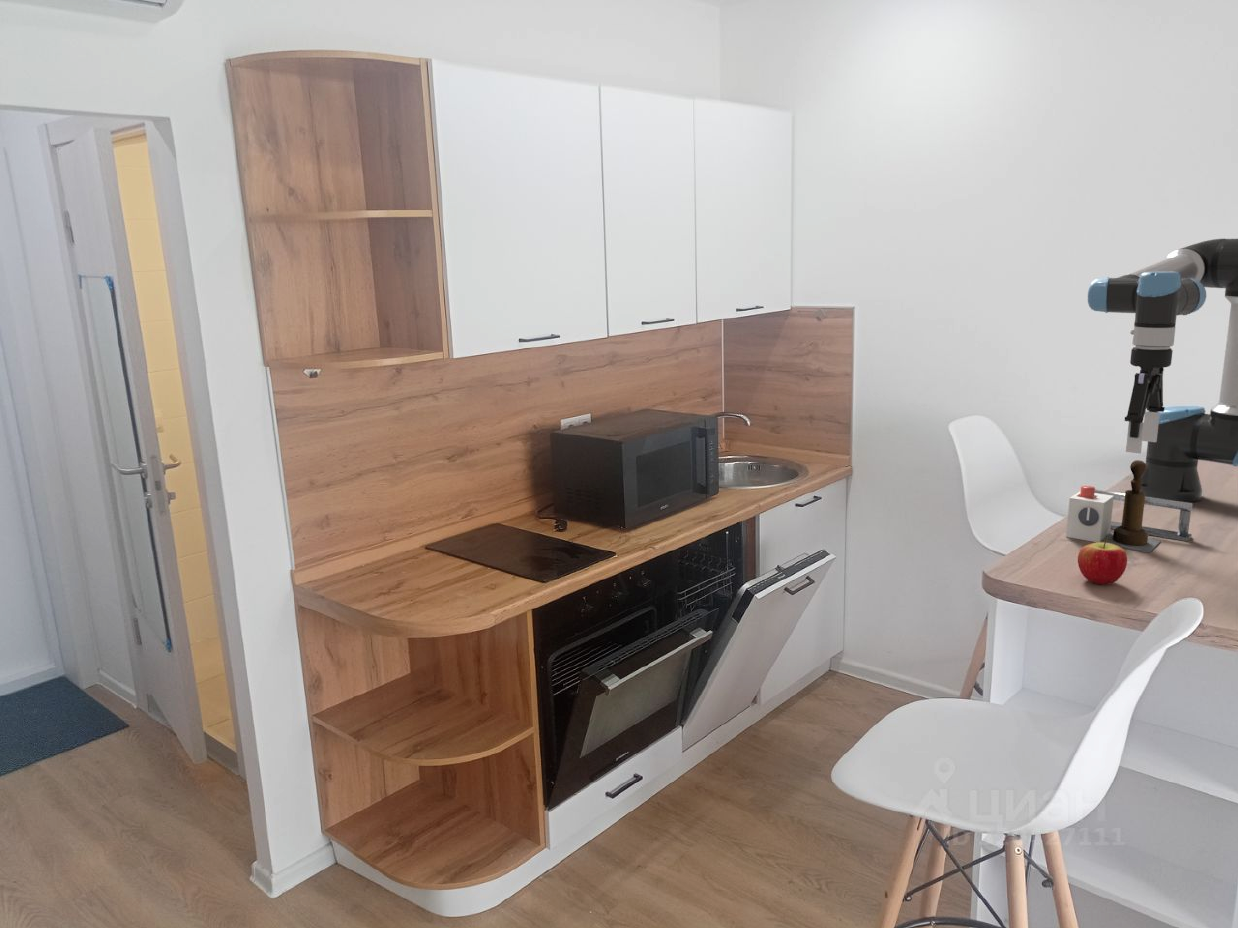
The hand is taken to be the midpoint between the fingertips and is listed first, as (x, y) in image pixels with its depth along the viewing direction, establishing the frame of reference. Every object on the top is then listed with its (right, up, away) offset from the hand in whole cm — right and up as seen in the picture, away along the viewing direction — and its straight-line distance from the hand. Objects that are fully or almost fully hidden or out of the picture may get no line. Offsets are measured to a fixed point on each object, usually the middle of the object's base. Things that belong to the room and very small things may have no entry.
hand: (1141, 446), depth 203 cm
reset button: (-7, -13, +9) cm, 18 cm away
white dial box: (-7, -20, +10) cm, 23 cm away
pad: (0, -21, +4) cm, 21 cm away
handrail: (+6, -19, +13) cm, 24 cm away
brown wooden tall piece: (0, -21, +5) cm, 21 cm away
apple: (-19, -27, -20) cm, 38 cm away
